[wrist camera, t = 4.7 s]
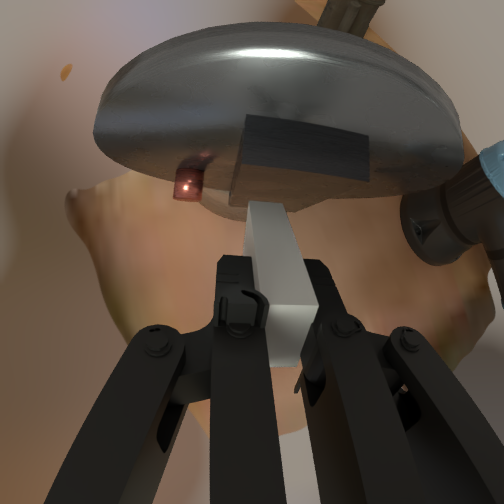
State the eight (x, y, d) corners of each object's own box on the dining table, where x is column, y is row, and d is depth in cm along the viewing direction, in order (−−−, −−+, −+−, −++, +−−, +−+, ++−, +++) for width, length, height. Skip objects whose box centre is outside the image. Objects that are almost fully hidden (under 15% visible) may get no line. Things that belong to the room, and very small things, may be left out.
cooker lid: (535, 133, 7) (545, 206, 8) (358, 192, 28) (357, 226, 28) (23, 38, 5) (-14, 131, 5) (147, 171, 26) (143, 207, 26)
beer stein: (309, 29, 51) (334, -35, 31) (353, 43, 52) (386, -15, 32) (303, 69, 49) (334, -6, 29) (354, 85, 49) (398, 20, 30)
